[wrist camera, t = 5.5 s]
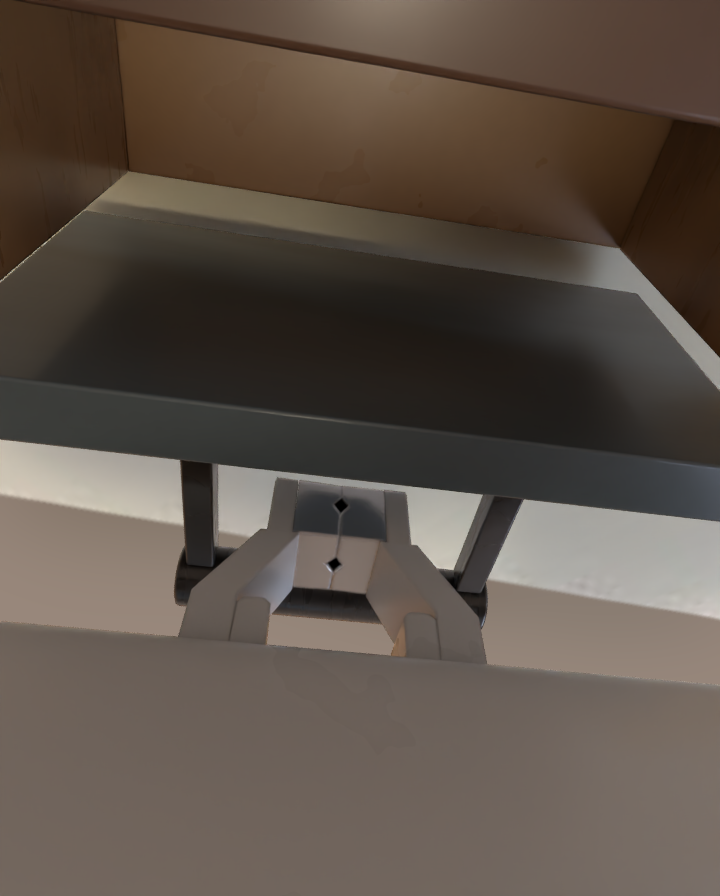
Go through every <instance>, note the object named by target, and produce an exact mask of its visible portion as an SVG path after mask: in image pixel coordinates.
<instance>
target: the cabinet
mask: <svg viewBox="0 0 720 896" xmlns="http://www.w3.org/2000/svg"><path fill="white" fill-rule="evenodd" d="M14 1H20V2H25V3H31V4H37V5H42V6H48V7H53V8H59V9H64V10H70V11H75V12H81V13H87V14H92V15H98V16H103V17H109V18H114V19H120V20H126V21H131V22H137V23H142V24H148V25H153V26H159V27H164V28H170V29H176V30H181V31H187V32H192V33H198V34H203V35H209V36H215V37H220V38H226V39H231V40H237V41H242V42H248V43H253V44H259V45H265V46H270V47H276V48H281V49H287V50H292V51H298V52H304V53H309V54H315V55H320V56H326V57H331V58H337V59H342V60H348V61H354V62H359V63H365V64H370V65H376V66H381V67H387V68H392V69H398V70H404V71H409V72H415V73H420V74H426V75H431V76H437V77H443V78H448V79H454V80H459V81H465V82H470V83H476V84H481V85H487V86H493V87H498V88H504V89H509V90H515V91H520V92H526V93H532V94H537V95H543V96H548V97H554V98H559V99H565V100H570V101H576V102H582V103H587V104H593V105H598V106H604V107H609V108H615V109H621V110H626V111H632V112H637V113H643V114H648V115H654V116H659V117H665V118H671V119H676V120H682V121H687V122H693V123H698V124H704V125H710V126H715V127H720V0H14Z"/></svg>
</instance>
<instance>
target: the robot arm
mask: <svg viewBox="0 0 720 896" xmlns="http://www.w3.org/2000/svg"><path fill="white" fill-rule="evenodd" d="M297 491H298V493H297ZM296 499H297V501H296ZM295 508H296V509H295ZM292 587H295V588H309V589H322V590H329V588H330V590H333V591H341V592H349V593H357V594H365V595H366V598H367V599H368V601H369V603H370V604H371V606H372V608H373V609H374V611H375V613H376V614H377V616H378V618H379V619H380V621H381V623H382V625H383V626H384V628H385V630H386V631H387V633H388V635H389V636H390V638H391V640H392V641H393V643H394V647H393V650H392V653H391V656H388V655H377V654H366V653H354V652H344V651H332V650H321V649H309V648H298V647H287V646H276V645H267V636H268V626H269V617H270V615H271V614H272V613H273V612H274V611H275V609H276V608H277V607H278V606H279V605H280V603H281V602H282V601H283V600H284V599H285V597H286V596H287V595H288V594H289V593H290V591H291V590H292ZM0 896H720V685H713V684H702V683H690V682H679V681H668V680H656V679H646V678H635V677H623V676H612V675H601V674H590V673H579V672H566V671H556V670H545V669H534V668H523V667H511V666H501V665H489V664H487V661H486V655H485V649H484V644H483V639H482V633H481V627H480V622H479V617H478V616H477V615H476V614H475V613H474V611H473V610H472V609H471V608H470V607H469V606H468V604H467V603H466V602H465V601H464V600H463V599H462V597H461V596H460V595H459V594H458V593H457V592H456V590H455V589H454V588H453V587H452V586H451V585H450V583H449V582H448V581H447V580H446V579H445V577H444V576H443V575H442V574H441V573H440V572H439V570H438V569H437V568H436V567H435V566H434V565H433V563H432V562H431V561H430V560H429V559H428V558H427V556H426V555H425V554H424V553H423V552H422V551H421V549H420V548H419V547H418V546H416V545H411V538H410V527H409V516H408V505H407V495H406V494H405V492H398V491H388V490H384V491H383V490H376V489H367V488H358V487H349V486H339V485H332V484H325V483H317V482H310V481H303V480H299V485H298V480H292V479H286V478H279V477H277V479H276V481H275V486H274V492H273V498H272V504H271V509H270V515H269V521H268V527H267V529H260V530H259V531H258V532H256V533H255V534H254V535H253V536H252V537H251V538H250V539H248V540H247V541H246V542H245V543H244V544H243V545H242V546H240V547H239V548H238V549H237V550H236V551H235V552H234V553H232V554H231V555H230V556H229V557H228V558H227V559H225V560H224V561H223V562H222V563H221V564H220V565H219V566H217V567H216V568H215V569H214V570H213V571H212V572H211V573H209V574H208V575H207V576H206V577H205V578H204V579H203V580H201V581H200V582H199V583H198V584H197V585H196V586H195V587H193V588H192V590H191V593H190V597H189V600H188V604H187V607H186V611H185V614H184V618H183V621H182V625H181V629H180V632H179V635H178V637H175V636H164V635H153V634H141V633H129V632H118V631H107V630H95V629H84V628H74V627H62V626H51V625H40V624H29V623H18V622H6V621H0Z"/></svg>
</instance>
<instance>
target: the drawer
mask: <svg viewBox="0 0 720 896" xmlns="http://www.w3.org/2000/svg"><path fill="white" fill-rule="evenodd" d="M128 171H130V172H137V173H143V174H149V175H156V176H162V177H168V178H175V179H181V180H187V181H194V182H200V183H207V184H213V185H219V186H226V187H232V188H238V189H245V190H251V191H257V192H264V193H270V194H277V195H283V196H289V197H296V198H302V199H308V200H315V201H321V202H328V203H334V204H340V205H347V206H353V207H359V208H366V209H372V210H378V211H385V212H391V213H398V214H404V215H410V216H417V217H423V218H429V219H436V220H442V221H448V222H455V223H461V224H468V225H474V226H480V227H487V228H493V229H499V230H506V231H512V232H518V233H525V234H531V235H538V236H544V237H550V238H557V239H563V240H569V241H576V242H582V243H589V244H595V245H601V246H608V247H614V248H620V250H621V251H622V252H623V253H624V254H625V255H626V256H627V257H628V259H629V260H630V261H631V262H632V263H633V264H634V265H635V266H636V267H637V268H638V269H639V271H640V272H641V273H642V274H643V275H644V276H645V277H646V278H647V279H648V280H649V281H650V282H651V284H652V285H653V286H654V287H655V288H656V289H657V290H658V291H659V292H660V293H661V294H662V295H663V297H664V298H665V299H666V300H667V301H668V302H669V303H670V304H671V305H672V306H673V307H674V308H675V310H676V311H677V312H678V313H679V314H680V315H681V316H682V317H683V318H684V319H685V320H686V321H687V323H688V324H689V325H690V326H691V327H692V328H693V329H694V330H695V331H696V332H697V333H698V335H699V336H700V337H701V338H702V339H703V340H704V341H705V342H706V343H707V344H708V345H709V346H710V348H711V349H712V350H713V351H714V352H715V353H716V354H717V355H718V356H719V357H720V127H715V126H710V125H704V124H698V123H693V122H687V121H682V120H676V119H671V118H665V117H659V116H654V115H648V114H643V113H637V112H632V111H626V110H621V109H615V108H609V107H604V106H598V105H593V104H587V103H582V102H576V101H570V100H565V99H559V98H554V97H548V96H543V95H537V94H532V93H526V92H520V91H515V90H509V89H504V88H498V87H493V86H487V85H481V84H476V83H470V82H465V81H459V80H454V79H448V78H443V77H437V76H431V75H426V74H420V73H415V72H409V71H404V70H398V69H392V68H387V67H381V66H376V65H370V64H365V63H359V62H354V61H348V60H342V59H337V58H331V57H326V56H320V55H315V54H309V53H304V52H298V51H292V50H287V49H281V48H276V47H270V46H265V45H259V44H253V43H248V42H242V41H237V40H231V39H226V38H220V37H215V36H209V35H203V34H198V33H192V32H187V31H181V30H176V29H170V28H164V27H159V26H153V25H148V24H142V23H137V22H131V21H126V20H120V19H114V18H109V17H103V16H98V15H92V14H87V13H81V12H75V11H70V10H64V9H59V8H53V7H48V6H42V5H37V4H31V3H25V2H20V1H14V0H0V280H1V279H2V278H4V277H5V276H6V275H7V274H8V273H9V272H11V271H12V270H13V269H14V268H15V267H16V266H18V265H19V264H20V263H21V262H22V261H24V260H25V259H26V258H27V257H28V256H29V255H31V254H32V253H33V252H34V251H35V250H36V249H38V248H39V247H40V246H41V245H42V244H44V243H45V242H46V241H47V240H48V239H49V238H51V237H52V236H53V235H54V234H55V233H56V232H58V231H59V230H60V229H61V228H62V227H64V226H65V225H66V224H67V223H68V222H69V221H71V220H72V219H73V218H74V217H75V216H76V215H78V214H79V213H80V212H81V211H82V210H84V209H85V208H86V207H87V206H88V205H89V204H91V203H92V202H93V201H94V200H95V199H96V198H98V197H99V196H100V195H101V194H102V193H104V192H105V191H106V190H107V189H108V188H109V187H111V186H112V185H113V184H114V183H115V182H116V181H118V180H119V179H120V178H121V177H122V176H124V175H125V174H126V173H127V172H128ZM0 439H1V440H10V441H19V442H28V443H36V444H45V445H54V446H63V447H71V448H80V449H89V450H98V451H106V452H115V453H124V454H133V455H141V456H150V457H159V458H168V459H176V460H180V468H181V484H182V501H183V518H184V534H185V546H184V548H183V550H182V552H181V555H180V558H179V561H178V566H177V570H176V577H175V585H174V598H175V602H176V604H177V605H179V606H187V604H188V600H189V597H190V593H191V590H192V588H193V587H195V586H196V585H197V584H198V583H199V582H200V581H201V580H203V579H204V578H205V577H206V576H207V575H208V574H209V573H211V572H212V571H213V570H214V569H215V568H216V567H217V566H219V565H220V564H221V563H222V562H223V561H224V560H225V559H227V558H228V557H229V556H230V555H231V554H232V553H234V552H235V551H236V550H237V549H238V548H231V547H222V546H218V464H220V465H229V466H238V467H246V468H255V469H264V470H273V471H281V472H290V473H299V474H308V475H316V476H325V477H334V478H343V479H351V480H360V481H369V482H378V483H386V484H395V485H404V486H413V487H421V488H430V489H439V490H448V491H456V492H465V493H474V494H483V497H482V499H481V502H480V504H479V507H478V509H477V512H476V515H475V517H474V520H473V522H472V525H471V527H470V530H469V532H468V535H467V537H466V540H465V542H464V545H463V548H462V550H461V553H460V555H459V558H458V560H457V563H456V565H455V568H454V570H448V569H438V568H437V569H438V570H439V572H440V573H441V574H442V575H443V576H444V577H445V579H446V580H447V581H448V582H449V583H450V585H451V586H452V587H453V588H454V589H455V590H456V592H457V593H458V594H459V595H460V596H461V597H462V599H463V600H464V601H465V602H466V603H467V604H468V606H469V607H470V608H471V609H472V610H473V611H474V613H475V614H476V615H477V616H478V617H479V622H480V627H481V629H482V627H483V625H484V622H485V618H486V614H487V603H488V596H487V587H486V581H487V578H488V576H489V574H490V572H491V570H492V568H493V565H494V563H495V561H496V559H497V557H498V554H499V552H500V550H501V548H502V546H503V544H504V541H505V539H506V537H507V535H508V533H509V530H510V528H511V526H512V524H513V522H514V520H515V517H516V515H517V513H518V511H519V509H520V506H521V504H522V502H523V500H524V499H526V500H535V501H544V502H553V503H561V504H570V505H579V506H588V507H596V508H605V509H614V510H622V511H631V512H640V513H649V514H657V515H666V516H675V517H684V518H692V519H701V520H710V521H719V522H720V391H719V390H718V389H717V388H716V386H715V385H714V384H713V383H712V382H711V380H710V379H709V378H708V377H707V376H706V375H705V373H704V372H703V371H702V370H701V369H700V367H699V366H698V365H697V364H696V363H695V362H694V360H693V359H692V358H691V357H690V356H689V354H688V353H687V352H686V351H685V350H684V349H683V347H682V346H681V345H680V344H679V343H678V342H677V340H676V339H675V338H674V337H673V336H672V334H671V333H670V332H669V331H668V330H667V329H666V327H665V326H664V325H663V324H662V323H661V321H660V320H659V319H658V318H657V317H656V316H655V314H654V313H653V312H652V311H651V310H650V308H649V307H648V306H647V305H646V304H645V303H644V301H643V300H642V299H641V298H640V297H639V295H638V294H636V293H629V292H623V291H616V290H609V289H603V288H596V287H589V286H583V285H576V284H569V283H563V282H556V281H549V280H543V279H536V278H529V277H523V276H516V275H509V274H503V273H496V272H489V271H483V270H476V269H469V268H463V267H456V266H449V265H443V264H436V263H429V262H423V261H416V260H409V259H403V258H396V257H389V256H383V255H376V254H369V253H363V252H356V251H349V250H343V249H336V248H329V247H323V246H316V245H309V244H303V243H296V242H290V241H283V240H276V239H270V238H263V237H256V236H250V235H243V234H236V233H230V232H223V231H216V230H210V229H203V228H196V227H190V226H183V225H176V224H170V223H163V222H156V221H150V220H143V219H136V218H130V217H123V216H116V215H110V214H103V213H96V212H90V211H83V212H82V213H81V214H80V215H79V216H77V217H76V218H75V219H74V220H73V221H72V222H70V223H69V224H68V225H67V226H66V227H64V228H63V229H62V230H61V231H60V232H59V233H57V234H56V235H55V236H54V237H53V238H52V239H50V240H49V241H48V242H47V243H46V244H45V245H43V246H42V247H41V248H40V249H39V250H38V251H36V252H35V253H34V254H33V255H32V256H31V257H29V258H28V259H27V260H26V261H25V262H24V263H22V264H21V265H20V266H19V267H18V268H17V269H15V270H14V271H13V272H12V273H11V274H10V275H8V276H7V277H6V278H5V279H4V280H3V281H1V282H0ZM272 614H274V615H285V616H296V617H307V618H317V619H328V620H340V621H350V622H361V623H372V624H382V623H381V621H380V619H379V618H378V616H377V614H376V613H375V611H374V609H373V608H372V606H371V604H370V603H369V601H368V599H367V598H366V595H365V594H357V593H349V592H341V591H333V590H330V588H329V590H322V589H309V588H295V587H292V590H291V591H290V593H289V594H288V595H287V596H286V597H285V599H284V600H283V601H282V602H281V603H280V605H279V606H278V607H277V608H276V609H275V611H274V612H273V613H272Z"/></svg>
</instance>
